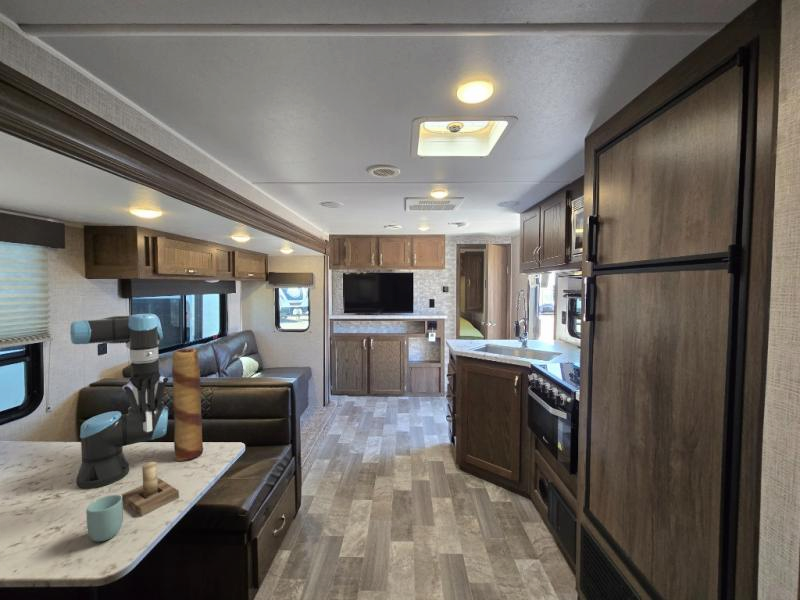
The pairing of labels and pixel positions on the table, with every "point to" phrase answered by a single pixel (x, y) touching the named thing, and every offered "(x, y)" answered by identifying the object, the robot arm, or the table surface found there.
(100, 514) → the cup
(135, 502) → the box with square hole
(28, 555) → the table surface
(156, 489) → the peg
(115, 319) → the robot arm
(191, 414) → the wafer roll
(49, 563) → the table surface
